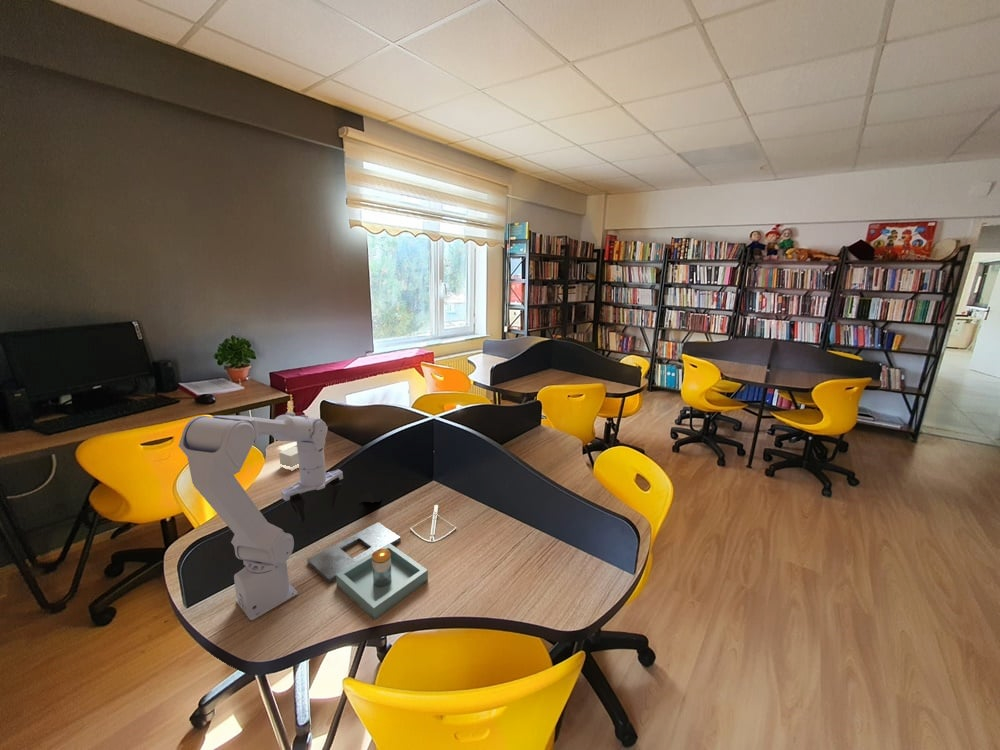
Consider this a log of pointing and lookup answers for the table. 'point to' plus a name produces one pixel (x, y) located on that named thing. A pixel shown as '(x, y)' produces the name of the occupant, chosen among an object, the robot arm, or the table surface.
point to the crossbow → (433, 527)
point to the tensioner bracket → (335, 556)
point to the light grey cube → (289, 457)
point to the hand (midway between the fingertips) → (316, 513)
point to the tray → (381, 599)
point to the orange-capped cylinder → (381, 567)
